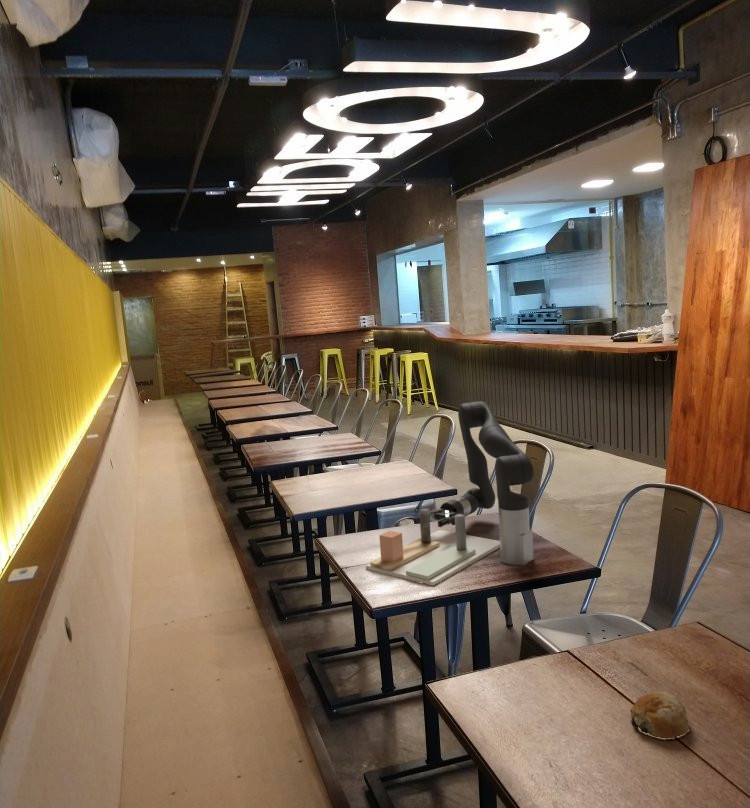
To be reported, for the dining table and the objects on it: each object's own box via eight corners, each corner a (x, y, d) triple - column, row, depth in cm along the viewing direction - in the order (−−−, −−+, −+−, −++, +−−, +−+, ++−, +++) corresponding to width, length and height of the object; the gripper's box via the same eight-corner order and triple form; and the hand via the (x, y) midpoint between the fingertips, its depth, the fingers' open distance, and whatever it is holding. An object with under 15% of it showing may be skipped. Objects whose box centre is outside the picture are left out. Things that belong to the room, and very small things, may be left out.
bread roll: (685, 762, 127) (705, 725, 126) (630, 737, 128) (650, 700, 127) (672, 729, 137) (690, 695, 135) (621, 706, 138) (639, 672, 136)
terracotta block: (403, 557, 222) (401, 533, 221) (393, 562, 218) (391, 537, 217) (391, 554, 225) (389, 530, 224) (381, 559, 221) (379, 535, 220)
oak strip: (439, 545, 234) (437, 509, 233) (390, 571, 215) (387, 532, 213) (420, 541, 239) (418, 506, 238) (370, 566, 220) (367, 528, 218)
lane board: (503, 545, 235) (503, 541, 235) (433, 586, 205) (433, 582, 204) (439, 533, 251) (439, 529, 251) (365, 569, 221) (365, 565, 221)
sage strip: (475, 552, 225) (473, 515, 224) (427, 580, 206) (425, 539, 204) (454, 548, 230) (452, 512, 229) (406, 574, 211) (403, 535, 209)
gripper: (438, 496, 252) (410, 508, 240) (472, 502, 243) (445, 514, 231) (439, 517, 253) (412, 529, 241) (473, 523, 244) (446, 536, 232)
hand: (428, 522), depth 236 cm, fingers open, 8 cm apart
